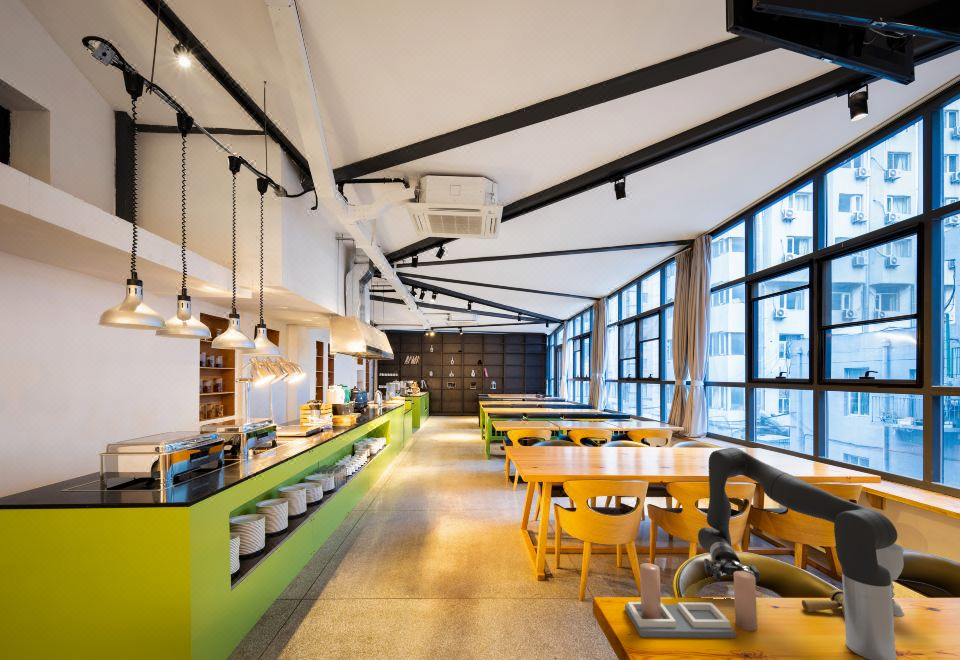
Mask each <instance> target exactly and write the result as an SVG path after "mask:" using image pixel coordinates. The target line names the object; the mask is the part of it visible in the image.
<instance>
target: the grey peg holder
mask: <svg viewBox="0 0 960 660" xmlns="http://www.w3.org/2000/svg"><path fill="white" fill-rule="evenodd" d="M639 571H640V572H639V573H640V575H639V578H640V601H628V602H627V604H624V611H625V612H626V614H627V616H628V617H629V619H630V621H631V622H632V624H633V626H634V628H635V630H636V631H637V633H638V634H639V636H640V637H641V638H680V639H681V638H688V639H689V638H690V639H695V638H697V639H699V638H700V639H702V638H703V639H704V638H705V639H706V638H707V639H711V638H712V639H715V638H716V639H736V631H735V630H734V629H733V628H732V627H731V621H730V620H729V619H728V618H727V617H726V616H725V614H723V613H722V612H721V611H720V610H719V608H718V607H717V606H716V605H715V604H714V603H712V602H687V601H685V602H683V601H682V602H680V601H679V602H677V604H664V603H663V602H662V601H661V600H662V599H661V571H660V567H659V565H657V564H653V563H650V562H645V563H640V565H639Z"/></svg>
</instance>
